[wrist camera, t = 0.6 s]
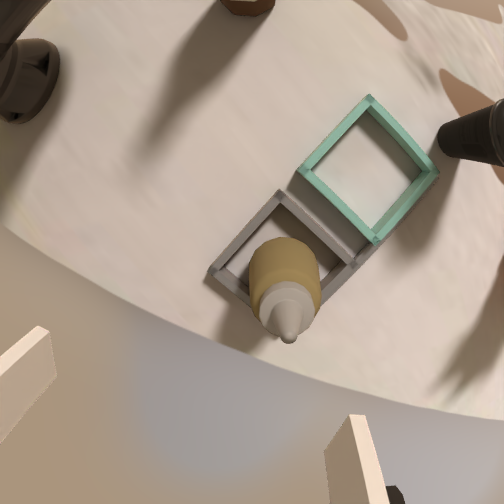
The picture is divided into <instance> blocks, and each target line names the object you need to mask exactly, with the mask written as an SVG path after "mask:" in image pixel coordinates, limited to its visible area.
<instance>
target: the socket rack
mask: <svg viewBox="0 0 504 504" xmlns="http://www.w3.org/2000/svg"><path fill="white" fill-rule="evenodd" d="M365 110H367V111H368V112H369V113H370V114H371V115H372V116H373V117H374V118H375V119H376V120H377V121H378V122H379V123H380V124H381V125H382V126H383V128H384V129H385V130H386V131H387V132H388V133H389V134H390V135H391V136H392V137H393V138H394V139H395V140H396V141H397V142H398V144H399V145H400V146H401V147H402V148H403V149H404V150H405V151H406V152H407V154H408V155H409V156H410V157H411V158H412V159H413V161H414V162H415V163H416V164H417V165H418V167H419V168H420V169H421V170H422V172H421V173H420V174H419V175H418V177H417V178H416V179H415V180H414V181H413V183H412V184H411V185H410V186H409V187H408V188H407V190H406V191H405V192H404V193H403V194H402V195H401V196H400V198H399V199H398V200H397V201H396V202H395V203H394V204H393V206H392V207H391V208H390V209H389V210H388V211H387V212H386V213H385V214H384V216H383V217H382V218H381V219H380V220H379V221H378V222H377V223H376V224H375V226H374V227H373V228H372V229H370V228H369V227H368V226H367V225H366V224H365V223H364V222H363V221H362V220H361V219H360V218H359V217H358V216H357V215H356V214H355V213H354V212H353V211H352V210H351V209H350V208H349V207H348V206H347V205H346V204H345V203H344V202H343V201H342V200H341V199H340V198H339V197H338V196H337V195H336V194H335V193H334V192H333V191H332V190H331V189H330V188H329V187H328V186H327V185H326V184H325V183H324V182H323V181H321V180H320V179H319V178H318V177H317V176H316V175H315V174H314V173H313V172H312V171H311V170H310V169H311V168H312V167H313V166H314V165H315V164H316V163H317V162H318V161H319V159H320V158H321V157H322V156H323V155H324V154H325V153H326V152H327V151H328V150H329V149H330V148H331V147H332V145H333V144H334V143H335V142H336V141H337V140H338V139H339V138H340V137H341V136H342V135H343V134H344V133H345V131H346V130H347V129H348V128H349V127H350V126H351V125H352V124H353V123H354V122H355V121H356V120H357V119H358V118H359V116H360V115H361V114H362V113H363V112H364V111H365ZM296 171H297V172H298V173H299V174H301V175H302V176H303V177H304V178H305V179H306V180H307V181H308V182H309V183H310V184H311V185H312V186H314V187H315V188H316V189H317V190H318V191H319V192H320V193H321V194H322V195H323V196H324V197H325V198H326V199H327V200H328V201H329V202H330V203H331V204H332V205H333V206H334V207H336V208H337V209H338V210H339V211H340V212H341V213H342V214H343V215H344V216H345V217H346V218H347V219H348V220H349V221H350V222H351V223H352V224H353V225H354V226H355V227H356V228H357V229H358V230H359V231H360V233H361V234H362V235H363V236H364V237H365V238H366V239H367V240H368V241H369V243H368V244H367V245H366V246H365V247H364V248H363V249H362V250H361V251H360V252H359V253H358V254H357V255H356V256H355V257H354V258H353V257H352V256H351V255H350V254H349V253H347V252H346V251H345V250H344V249H343V248H342V247H341V246H340V245H339V244H338V243H337V242H336V241H335V240H334V239H333V238H332V237H331V236H330V235H329V234H328V233H327V232H326V231H325V230H324V229H323V228H322V227H321V226H320V225H318V224H317V223H316V222H315V221H314V220H313V219H312V218H311V217H310V216H309V215H308V214H307V213H306V212H305V211H303V210H302V209H301V208H300V207H299V206H298V205H297V204H296V203H295V202H294V201H293V200H291V199H290V198H289V197H288V196H287V195H286V194H285V193H284V192H283V191H281V190H280V189H278V190H277V191H276V192H275V194H274V195H273V196H272V197H271V198H270V199H269V200H268V201H267V202H266V204H265V205H264V206H263V207H262V208H261V209H260V210H259V211H258V212H257V214H256V215H255V216H254V217H253V218H252V219H251V220H250V221H249V222H248V224H247V225H246V226H245V227H244V228H243V229H242V230H241V231H240V233H239V234H238V235H237V236H236V237H235V238H234V239H233V240H232V242H231V243H230V244H229V245H228V246H227V247H226V248H225V250H224V251H223V252H222V253H221V254H220V255H219V256H218V257H217V259H216V260H215V261H214V262H213V263H212V264H211V266H210V267H209V269H208V270H207V272H208V273H210V274H211V275H212V276H213V277H214V278H216V279H217V280H218V281H219V282H220V283H222V284H223V285H224V286H225V287H226V288H228V289H229V290H230V291H231V292H232V293H234V294H235V295H236V296H237V297H238V298H240V299H241V300H242V301H243V302H245V303H246V304H247V305H248V306H249V307H251V305H250V289H249V287H248V286H247V285H245V284H244V283H243V282H242V281H241V280H239V279H238V278H237V277H236V276H235V275H234V274H232V273H231V272H230V271H229V270H228V269H226V268H225V267H224V266H223V265H224V264H225V263H226V262H227V261H228V259H229V258H230V257H231V256H232V255H233V254H234V253H235V252H236V251H237V249H238V248H239V247H240V246H241V245H242V244H243V243H244V242H245V241H246V239H247V238H248V237H249V236H250V235H251V234H252V233H253V232H254V231H255V229H256V228H257V227H258V226H259V225H260V224H261V223H262V222H263V221H264V220H265V218H266V217H267V216H268V215H269V214H270V213H271V212H272V211H273V210H274V209H275V207H276V206H277V205H278V204H279V203H280V202H281V203H282V204H283V205H284V206H285V207H286V208H287V209H288V210H289V211H291V212H292V213H293V214H294V215H295V216H296V217H297V218H298V219H299V220H300V221H301V222H303V223H304V224H305V225H306V226H307V227H308V228H309V229H310V230H311V231H312V232H313V233H314V234H316V235H317V236H318V237H319V238H320V239H321V240H322V241H323V242H324V243H325V244H326V245H327V246H328V247H329V248H330V249H331V250H332V251H333V252H335V253H336V254H337V255H338V256H339V257H340V258H341V259H342V261H341V262H340V263H339V264H338V265H337V266H336V267H335V268H334V269H333V270H332V271H331V272H330V273H329V274H328V275H327V276H326V277H325V278H324V279H323V280H322V281H321V282H320V285H321V294H322V298H321V305H320V306H322V305H323V304H324V303H325V302H326V301H327V300H328V299H329V298H330V297H331V296H332V295H333V294H334V293H335V292H336V291H337V290H338V289H339V288H340V287H341V286H342V285H343V284H344V283H345V282H346V281H347V280H348V279H349V278H350V277H351V276H352V275H353V274H354V273H355V272H356V271H357V270H358V269H359V268H360V267H361V266H362V265H363V264H364V263H365V262H366V261H367V260H368V259H369V257H370V256H371V255H372V254H373V253H374V252H375V251H376V250H377V249H378V248H379V247H380V246H381V245H382V244H383V243H384V241H385V240H386V239H387V238H388V237H389V236H390V235H391V234H392V233H393V232H394V230H395V229H396V228H397V227H398V226H399V225H400V224H401V223H402V221H403V220H404V219H405V218H406V217H407V216H408V215H409V214H410V212H411V211H412V210H413V209H414V208H415V207H416V205H417V204H418V203H419V202H420V201H421V199H422V198H423V197H424V196H425V195H426V194H427V192H428V191H429V190H430V189H431V187H432V186H433V185H434V184H435V183H436V181H437V180H438V179H439V178H438V177H437V175H438V174H439V173H440V171H439V170H438V169H437V168H436V166H435V165H434V164H433V162H432V161H431V160H430V159H429V157H428V156H427V155H426V154H425V153H424V151H423V150H422V149H421V148H420V147H419V145H418V144H417V143H416V142H415V141H414V140H413V139H412V137H411V136H410V135H409V134H408V133H407V132H406V131H405V130H404V128H403V127H402V126H401V125H400V124H399V123H398V122H397V121H396V120H395V119H394V118H393V117H392V116H391V115H390V114H389V113H388V111H387V110H386V109H385V108H384V107H383V106H382V105H381V104H380V103H379V102H378V101H377V100H375V99H374V98H373V97H372V96H371V95H370V94H368V95H367V96H365V97H364V98H363V99H362V100H361V101H360V102H359V103H358V104H357V105H356V106H355V107H354V108H353V109H352V111H351V112H350V113H349V114H348V115H347V116H346V117H345V118H344V119H343V120H342V121H341V122H340V123H339V124H338V125H337V126H336V127H335V129H334V130H333V131H332V132H331V133H330V134H329V135H328V136H327V137H326V138H325V139H324V140H323V141H322V142H321V144H320V145H319V146H318V147H317V148H316V149H315V150H314V151H313V152H312V153H311V154H310V155H309V156H308V158H307V159H306V160H305V161H304V162H303V163H302V164H301V165H300V166H299V167H298V168H297V169H296ZM251 308H252V307H251Z"/></svg>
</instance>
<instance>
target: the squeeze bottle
mask: <svg viewBox="0 0 504 504" xmlns="http://www.w3.org/2000/svg"><path fill="white" fill-rule="evenodd" d="M249 289H250V305H251V307H252V310H253V312H254V315H255V317H256V318H257V319H258V320H259V321H260V322H261V323H262V325H263V326H264V327H265V328H266V329H267V330H268V331H269V332H270V333H272V334H274V335H277V336H279V337H280V338H281V340H282V341H283V342H284V343H286V344H291V343H293V342H295V341H296V339H297V336H298V335H299V334H301V333H302V332H304V331H305V330H306V329H308V328H309V326H310V325H311V323H312V322H313V320H314V317H315V316H316V314H317V312H318V311H319V309H320V305H321V298H322V294H321V285H320V276H319V268H318V264H317V261H316V258H315V254H314V253H313V252H312V251H311V250H310V248H309V247H308V246H307V245H306V244H305V243H302V242H300V241H298V240H296V239H294V238H286V237H278V238H275V239H272V240H269V241H266V242H265V243H263V244H262V245H261V246H260V247H259V248H258V249H256V250H255V252H254V254H253V256H252V258H251V260H250V262H249Z"/></svg>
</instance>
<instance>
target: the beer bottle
mask: <svg viewBox="0 0 504 504" xmlns="http://www.w3.org/2000/svg"><path fill="white" fill-rule="evenodd" d="M221 2H222V3H223V4H224V5H225V6H226V7H227V8H228V9H229V10H230V11H231V12H232V13H233V14H235V15H248V16H257V15H259V14H261V13H263V12H265V11H267V10H268V9H270V8H272V7H274V5H275V0H221Z"/></svg>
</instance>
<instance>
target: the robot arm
mask: <svg viewBox="0 0 504 504" xmlns="http://www.w3.org/2000/svg"><path fill="white" fill-rule="evenodd" d="M50 1H51V0H0V119H2V120H3V121H5V122H8V123H24V122H26V121H28V120H30V119H31V118H33V117H34V116H35V115H36V114H37V113H38V112H39V111H40V110H41V108H42V107H43V106H44V104H45V103H46V101H47V100H48V98H49V96H50V94H51V92H52V90H53V88H54V85H55V83H56V80H57V76H58V72H59V65H60V58H59V52H58V49H57V48H56V46H55V45H54V44H53V43H51V42H49V41H46V40H44V39H39V38H36V39H21V40H16V39H17V38H18V37H19V36H20V34H21V33H22V32H23V31H24V30H25V28H26V27H27V26H28V25H29V24H30V23H31V21H32V20H33V19H34V18H35V17H36V16H37V15H38V14H39V13H40V11H41V10H42V9H43V8H44V7H45V6H46V5H47V4H48V3H49V2H50ZM56 377H57V374H56V368H55V363H54V358H53V351H52V345H51V338H50V331H47V330H45V329H44V328H42V327H39V326H36V327H35V328H34V329H33V330H32V331H30V332H29V333H28V334H27V335H25V336H24V337H23V338H22V339H20V340H19V341H18V342H17V343H16V344H15V345H13V346H12V347H11V348H10V349H9V350H7V351H6V352H5V353H4V354H3V355H2V356H0V444H1V443H2V441H3V440H4V439H5V437H6V436H7V435H8V434H9V433H10V431H11V430H12V429H13V428H14V426H15V425H16V424H17V423H18V422H19V420H20V419H21V418H22V416H23V415H24V414H25V413H26V412H27V411H28V410H29V408H30V407H31V406H32V405H33V403H34V402H35V401H36V400H37V399H38V398H39V397H40V395H41V394H42V393H43V392H44V391H45V390H46V389H47V387H48V386H49V385H50V384H51V383H52V382H53V381H54V379H55V378H56ZM324 455H325V463H326V471H327V479H328V487H329V495H330V504H405V501H404V498H403V495H402V493H401V492H400V491H399V489H398V488H397V487H396V486H385V484H384V480H383V476H382V473H381V469H380V465H379V462H378V458H377V454H376V451H375V448H374V444H373V441H372V437H371V434H370V431H369V427H368V424H367V421H366V418H365V415H352V414H349V415H348V417H347V418H346V420H345V421H344V423H343V424H342V426H341V427H340V429H339V431H338V432H337V433H336V435H335V436H334V438H333V439H332V441H331V442H330V444H329V445H328V446H327V448H326V449H325V450H324Z"/></svg>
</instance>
